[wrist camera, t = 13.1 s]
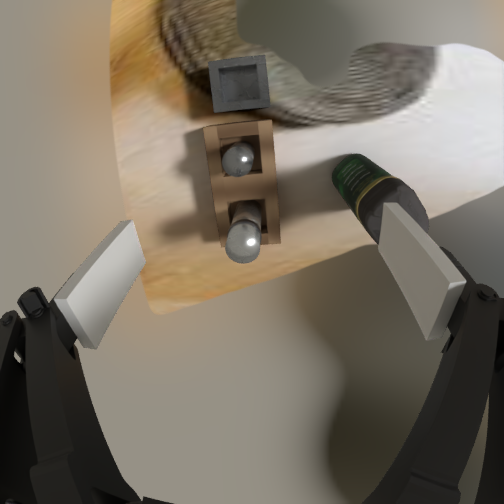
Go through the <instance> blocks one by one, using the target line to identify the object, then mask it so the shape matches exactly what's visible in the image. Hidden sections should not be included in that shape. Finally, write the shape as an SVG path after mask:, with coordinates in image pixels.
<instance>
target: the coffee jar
mask: <svg viewBox="0 0 504 504" xmlns="http://www.w3.org/2000/svg"><path fill="white" fill-rule="evenodd" d="M332 180H333V184H334V185H335V187H336V188H337V190H338V191H339V193H340V194H341V196H342V197H343V199H344V200H345V201H346V203H347V204H348V206H349V207H350V209H351V210H352V212H353V213H354V214H355V216H356V217H357V219H358V220H359V221H360V223H361V224H362V225H363V227H364V228H365V229H366V231H367V232H368V233H369V235H370V236H371V237H372V238H373V240H374V241H375V242H376V243H377V244H378V245H379V240H380V232H381V224H382V215H383V206H384V203H398V204H399V205H400V206H401V207H402V208H403V209H404V210H405V211H406V212H407V213H408V214H409V215H410V216H411V217H412V218H413V219H414V220H415V221H416V222H417V224H418V225H419V226H420V227H421V228H422V229H423V230H424V231H425V232H426V233H428V229H429V219H428V216H427V214H426V210H425V208H424V207H423V205H422V203H421V202H420V200H419V198H418V197H417V195H416V193H415V192H414V190H412V189H411V188H410V187H409V186H408V185H406V184H405V183H404V182H403V181H402V180H400V179H399V178H397V177H394V176H392V175H391V174H389V173H388V172H386V171H385V170H384V169H382V168H381V167H379V166H378V165H376V164H375V163H374V162H372V161H371V160H370V159H368V158H367V157H365V156H363V155H361V154H352V155H350V156H348V157H347V158H345V159H344V160H343V161H342V162H341V163H340V164H339V165H338V166H337V167H336V168H335V170H334V171H333V175H332Z"/></svg>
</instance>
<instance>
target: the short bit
mask: <svg viewBox="0 0 504 504" xmlns="http://www.w3.org/2000/svg"><path fill="white" fill-rule="evenodd" d="M254 156H255V150H254V147H253V146H252V144H250V143H249V142H247V141H237V142H235V143H234V144H233V145H232V146H231V147H230V148H229V149H228V151H227V152H226V153H225V154H224V156H223V159H222V166H223V169H224V170H225V172H226V173H227V174H229V175H231V176H233V177H242V176H245V175H246V174H248V173H249V171H250V170H251V168H252V165H253V160H254Z"/></svg>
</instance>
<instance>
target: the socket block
mask: <svg viewBox="0 0 504 504" xmlns="http://www.w3.org/2000/svg"><path fill="white" fill-rule="evenodd" d="M208 66H209V74H210V83H211V91H212V100H213V108H214V113H217V112H225V111H233V110H242V109H252V108H264V107H270V97H269V87H268V77H267V68H266V59H265V55H259V56H248V57H239V58H231V59H223V60H217V61H210V62H208Z"/></svg>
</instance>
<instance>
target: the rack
mask: <svg viewBox="0 0 504 504" xmlns="http://www.w3.org/2000/svg"><path fill="white" fill-rule="evenodd" d="M203 131H204V139H205V146H206V153H207V160H208V167H209V174H210V180H211V187H212V193H213V200H214V206H215V212H216V219H217V225H218V231H219V237H220V243H221V247H225V245H226V241H227V234H228V230H229V228H230V226H231V224H232V220H233V216H234V213H235V209H236V206H237V204H238V203H239V202H240V201H241V200H252V199H254V200H256V201H257V202H258V203H259V204H260V206H261V208H262V217H261V233H262V238H261V243H260V245H265V244H281V239H280V222H279V206H278V192H277V178H276V165H275V152H274V141H273V129H272V120H271V119H266V120H254V121H243V122H234V123H225V124H218V125H210V126H206V127H204V128H203ZM237 141H247V142H249V143H250V144H252V146H253V147H254V150H255V156H254V160H253V165H252V168H251V170H250V171H249V173H248V174H246V175H245V176H242V177H233V176H231V175H229V174H227V173H226V172H225V170H224V169H223V166H222V159H223V156H224V154H225V153H226V152H227V151H228V149H229V148H230V147H231V146H232V145H233V144H234V143H235V142H237Z"/></svg>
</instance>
